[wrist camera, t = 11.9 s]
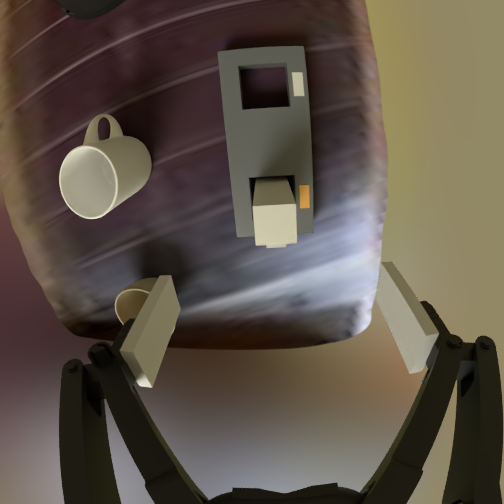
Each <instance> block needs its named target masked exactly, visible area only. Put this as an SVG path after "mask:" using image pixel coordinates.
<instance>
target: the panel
mask: <svg viewBox="0 0 504 504" xmlns="http://www.w3.org/2000/svg"><path fill="white" fill-rule="evenodd" d="M218 61H219V72H220V82H221V92H222V102H223V112H224V122H225V131H226V141H227V150H228V160H229V169H230V178H231V187H232V196H233V205H234V213H235V222H236V231H237V237H249V236H255V230H254V219H253V207H252V206H253V202H252V191H251V180H250V178H252V177H266V176H284V175H293V192H294V200H295V203H296V223H297V234H301V233H313V168H312V143H311V125H310V109H309V96H308V84H307V73H306V63H305V53H304V46H277V47H259V48H246V49H236V50H228V51H220V52H218ZM271 67H285V74H286V85H287V96H288V107H274V108H258V109H246V110H244V105H243V94H242V84H241V73H240V70H244V69H256V68H271Z"/></svg>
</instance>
